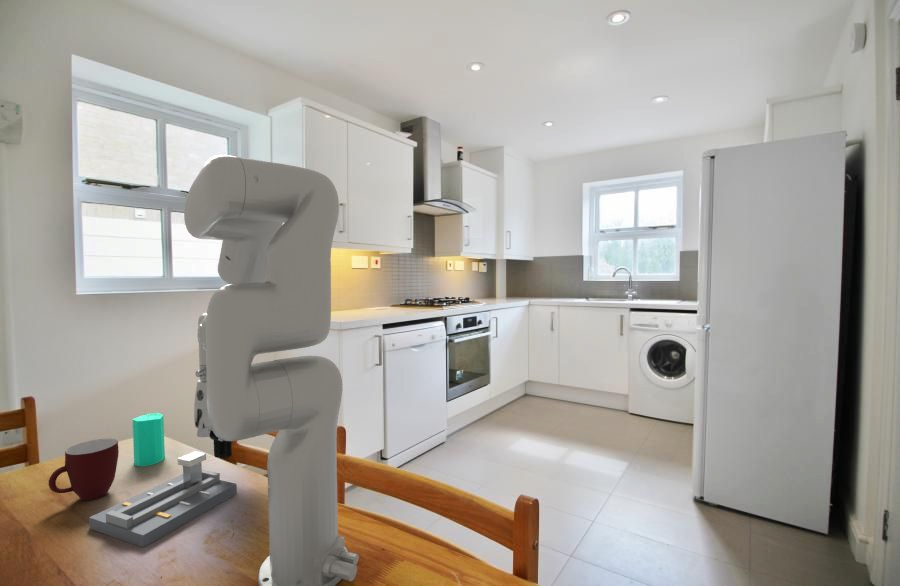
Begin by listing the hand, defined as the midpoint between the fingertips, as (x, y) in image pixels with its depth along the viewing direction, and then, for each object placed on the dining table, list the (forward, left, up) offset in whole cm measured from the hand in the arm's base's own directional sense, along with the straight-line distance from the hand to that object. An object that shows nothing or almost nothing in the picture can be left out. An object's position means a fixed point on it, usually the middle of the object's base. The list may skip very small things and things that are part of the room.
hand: (223, 456), depth 91 cm
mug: (+19, +15, -5) cm, 25 cm away
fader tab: (0, +7, -3) cm, 8 cm away
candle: (+25, -1, -5) cm, 26 cm away
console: (0, +12, -5) cm, 13 cm away
